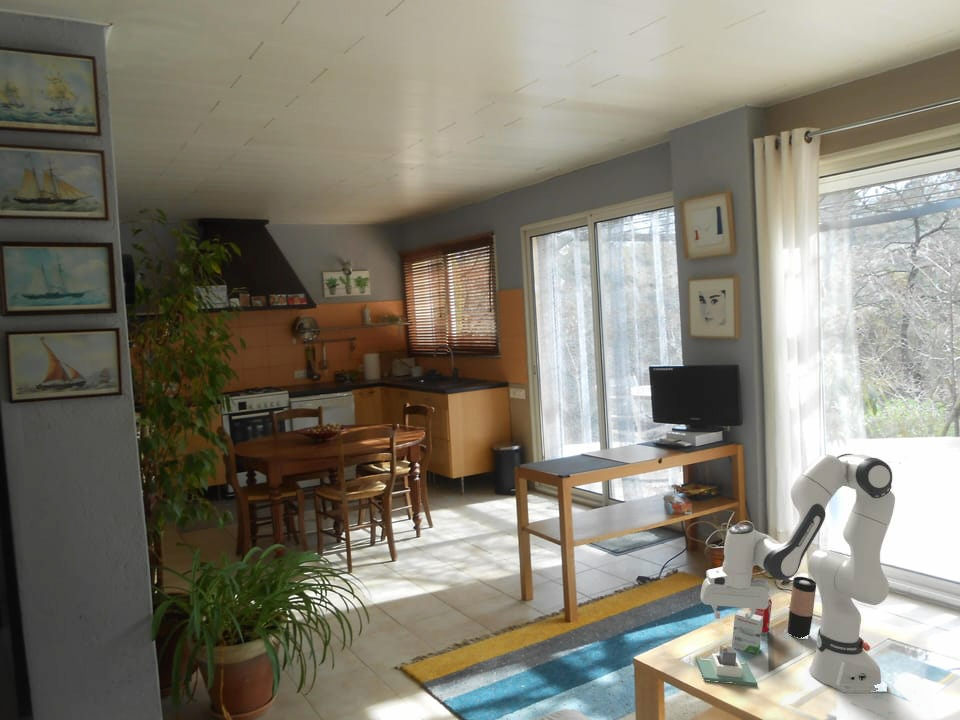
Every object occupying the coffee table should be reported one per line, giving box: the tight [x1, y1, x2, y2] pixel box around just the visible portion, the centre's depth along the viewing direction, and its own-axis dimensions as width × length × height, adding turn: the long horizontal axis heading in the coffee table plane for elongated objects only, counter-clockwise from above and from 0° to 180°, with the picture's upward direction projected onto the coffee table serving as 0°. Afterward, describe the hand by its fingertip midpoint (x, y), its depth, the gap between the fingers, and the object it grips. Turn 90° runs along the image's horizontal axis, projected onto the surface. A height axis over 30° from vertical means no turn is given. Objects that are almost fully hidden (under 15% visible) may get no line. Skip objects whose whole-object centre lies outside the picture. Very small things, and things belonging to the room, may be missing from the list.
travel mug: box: [787, 576, 817, 638], centre depth 263 cm, size 8×8×20 cm
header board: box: [695, 653, 758, 687], centre depth 234 cm, size 16×12×4 cm
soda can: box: [748, 594, 773, 635], centre depth 264 cm, size 7×7×13 cm
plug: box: [718, 645, 737, 666], centre depth 234 cm, size 4×4×8 cm
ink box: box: [731, 609, 763, 655], centre depth 251 cm, size 9×5×12 cm, turn 60°
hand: (732, 618), depth 232 cm, fingers open, 8 cm apart
